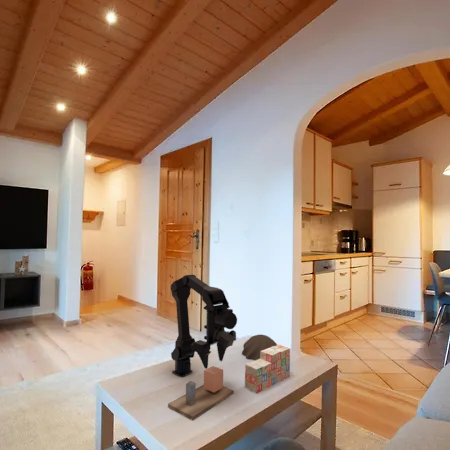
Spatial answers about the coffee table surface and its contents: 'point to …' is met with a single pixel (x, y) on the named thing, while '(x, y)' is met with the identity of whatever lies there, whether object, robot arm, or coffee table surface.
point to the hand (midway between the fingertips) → (213, 364)
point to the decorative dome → (256, 346)
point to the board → (200, 402)
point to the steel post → (190, 393)
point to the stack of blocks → (268, 368)
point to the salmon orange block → (213, 379)
